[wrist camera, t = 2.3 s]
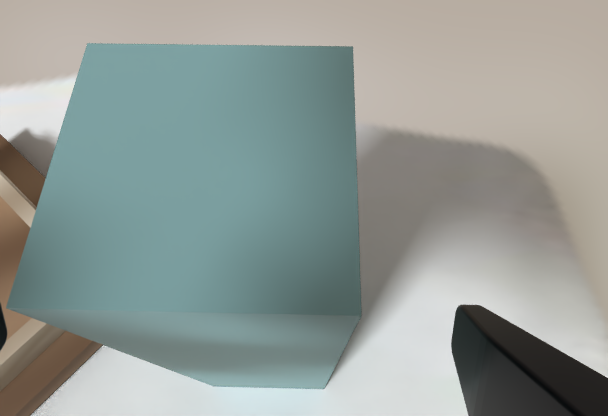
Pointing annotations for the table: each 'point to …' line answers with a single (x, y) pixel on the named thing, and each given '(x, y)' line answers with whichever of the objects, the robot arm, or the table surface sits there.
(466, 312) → the robot arm
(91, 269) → the column block
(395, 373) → the table surface
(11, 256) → the base plate
